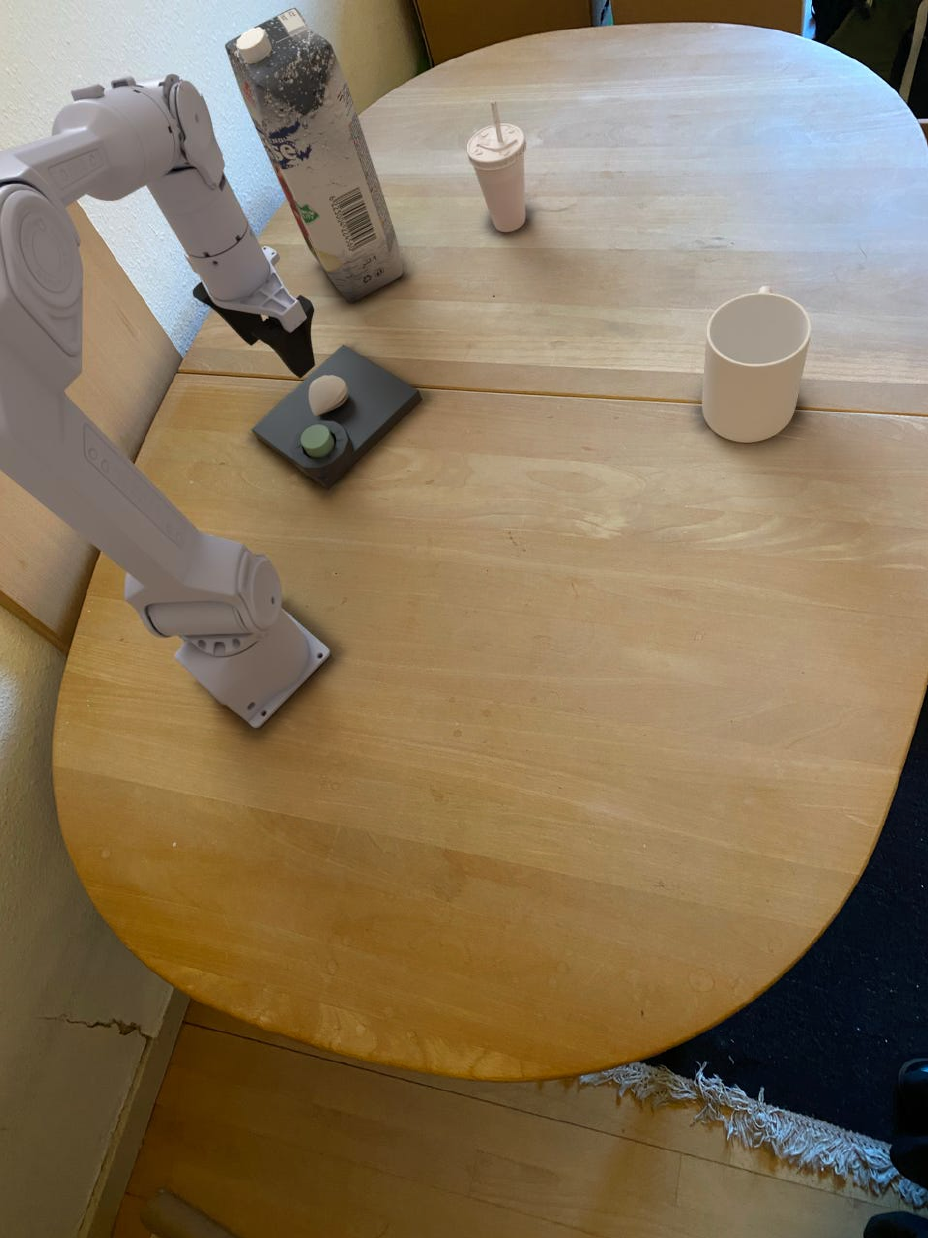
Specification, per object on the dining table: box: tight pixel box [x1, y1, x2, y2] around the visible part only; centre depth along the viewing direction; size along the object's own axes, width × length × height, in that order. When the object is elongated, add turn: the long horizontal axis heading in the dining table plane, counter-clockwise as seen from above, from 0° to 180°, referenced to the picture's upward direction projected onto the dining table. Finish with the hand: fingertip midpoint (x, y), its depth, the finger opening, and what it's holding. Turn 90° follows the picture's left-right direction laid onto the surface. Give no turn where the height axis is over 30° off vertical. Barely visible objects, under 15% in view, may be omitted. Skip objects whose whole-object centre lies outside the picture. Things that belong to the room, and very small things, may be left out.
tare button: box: [301, 425, 334, 458], centre depth 83 cm, size 3×3×2 cm
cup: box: [701, 285, 813, 444], centre depth 74 cm, size 8×12×10 cm
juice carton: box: [224, 7, 404, 304], centre depth 86 cm, size 9×10×27 cm
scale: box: [251, 344, 423, 491], centre depth 87 cm, size 14×12×3 cm
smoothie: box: [466, 99, 527, 233], centre depth 90 cm, size 6×6×14 cm
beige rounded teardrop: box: [309, 375, 349, 416], centre depth 86 cm, size 4×5×2 cm
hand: (280, 353), depth 80 cm, fingers open, 7 cm apart
